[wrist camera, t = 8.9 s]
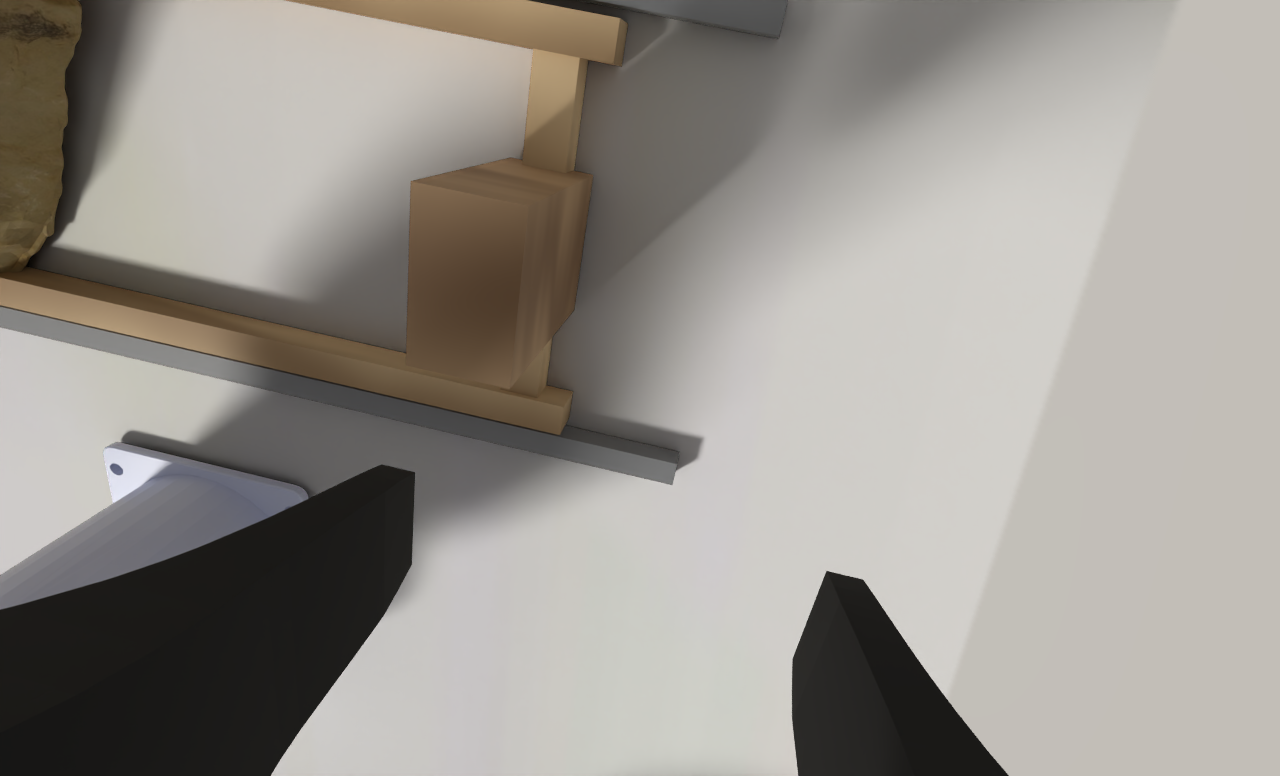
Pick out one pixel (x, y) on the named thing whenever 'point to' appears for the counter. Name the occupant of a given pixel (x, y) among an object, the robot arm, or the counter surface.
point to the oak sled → (431, 247)
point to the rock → (32, 120)
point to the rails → (725, 3)
